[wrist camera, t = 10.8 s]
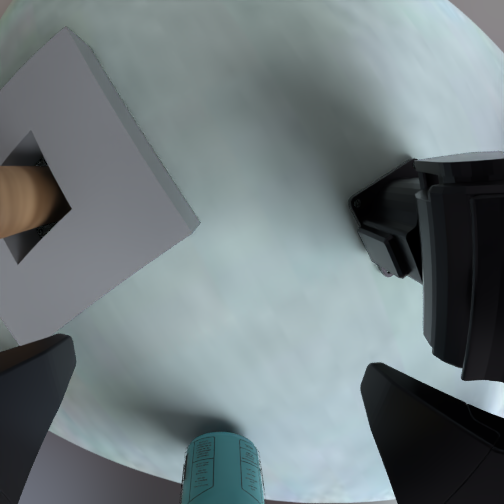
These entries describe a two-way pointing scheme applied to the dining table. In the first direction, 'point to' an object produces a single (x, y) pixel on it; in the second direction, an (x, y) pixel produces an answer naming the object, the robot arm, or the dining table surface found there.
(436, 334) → the robot arm
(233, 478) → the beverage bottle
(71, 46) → the socket
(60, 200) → the peg
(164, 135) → the dining table surface
